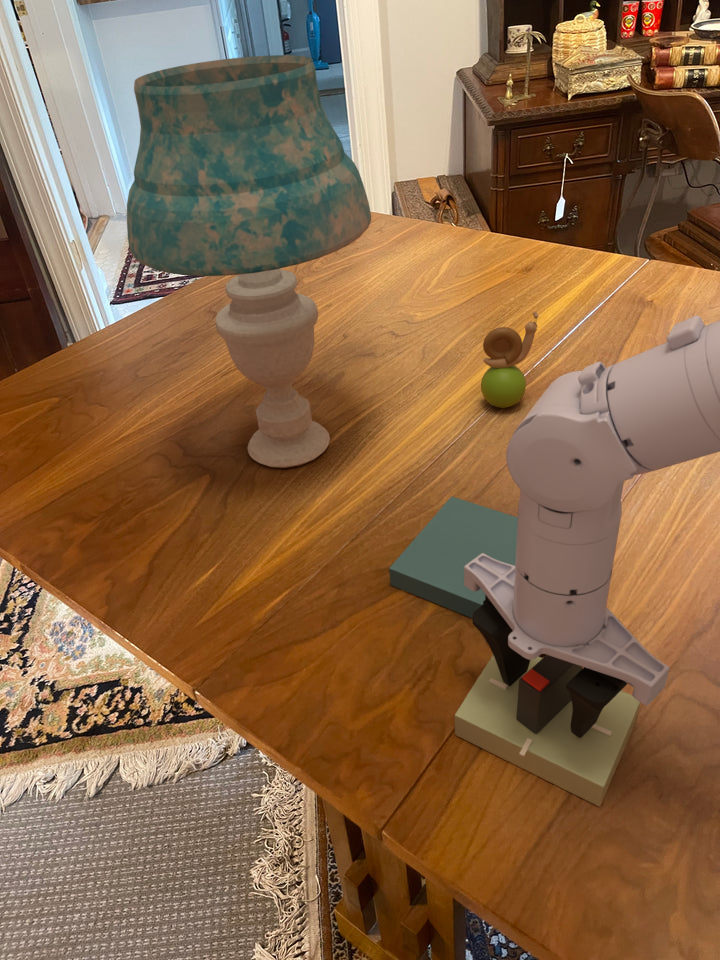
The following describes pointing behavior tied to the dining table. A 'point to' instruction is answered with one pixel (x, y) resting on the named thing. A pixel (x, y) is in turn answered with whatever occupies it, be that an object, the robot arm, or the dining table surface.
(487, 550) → the switch box
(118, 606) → the dining table surface
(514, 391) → the snail figurine
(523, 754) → the dimmer panel
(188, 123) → the table lamp
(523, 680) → the dimmer knob
